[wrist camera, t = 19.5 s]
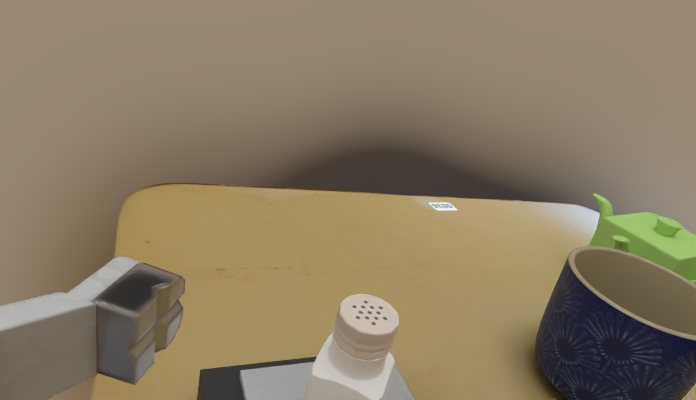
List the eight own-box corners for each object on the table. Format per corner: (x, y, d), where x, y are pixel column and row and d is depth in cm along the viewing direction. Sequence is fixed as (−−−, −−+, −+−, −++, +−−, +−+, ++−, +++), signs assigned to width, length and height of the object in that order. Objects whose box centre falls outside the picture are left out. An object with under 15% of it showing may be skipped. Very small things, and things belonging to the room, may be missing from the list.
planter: (688, 468, 37) (770, 363, 32) (528, 411, 39) (584, 304, 34) (640, 361, 48) (696, 272, 43) (517, 320, 50) (558, 231, 45)
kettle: (575, 313, 53) (619, 227, 49) (555, 254, 66) (588, 181, 61) (715, 357, 51) (775, 271, 47) (667, 287, 64) (710, 215, 59)
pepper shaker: (373, 425, 30) (413, 305, 26) (354, 480, 26) (398, 351, 22) (314, 400, 31) (345, 279, 27) (289, 450, 27) (320, 320, 23)
